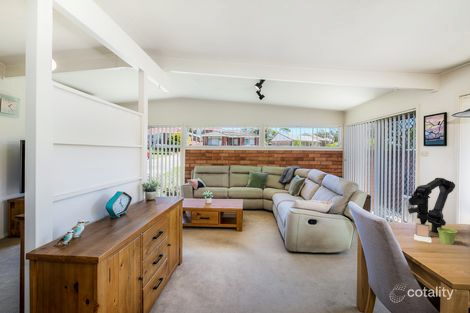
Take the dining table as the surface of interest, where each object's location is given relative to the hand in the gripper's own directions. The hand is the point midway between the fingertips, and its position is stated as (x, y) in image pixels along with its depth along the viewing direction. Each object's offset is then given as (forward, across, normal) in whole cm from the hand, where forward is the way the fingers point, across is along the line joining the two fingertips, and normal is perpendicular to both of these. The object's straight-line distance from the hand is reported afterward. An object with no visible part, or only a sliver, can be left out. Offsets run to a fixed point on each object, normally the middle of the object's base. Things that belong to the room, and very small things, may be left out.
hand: (422, 226), depth 168 cm
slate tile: (+5, +6, 0) cm, 8 cm away
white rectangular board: (+6, +11, 0) cm, 12 cm away
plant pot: (+6, +12, +12) cm, 18 cm away
